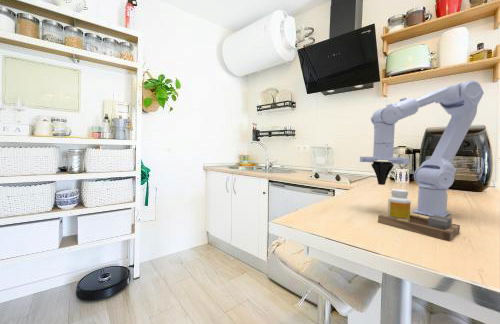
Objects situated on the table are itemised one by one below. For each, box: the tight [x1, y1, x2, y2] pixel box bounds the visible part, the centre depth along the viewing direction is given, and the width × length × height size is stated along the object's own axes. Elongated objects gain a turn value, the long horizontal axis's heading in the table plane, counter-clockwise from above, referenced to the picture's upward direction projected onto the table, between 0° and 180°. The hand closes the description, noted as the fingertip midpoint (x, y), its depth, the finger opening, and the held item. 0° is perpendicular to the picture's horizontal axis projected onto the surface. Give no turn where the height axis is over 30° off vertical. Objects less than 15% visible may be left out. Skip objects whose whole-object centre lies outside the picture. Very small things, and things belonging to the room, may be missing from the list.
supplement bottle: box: [387, 188, 411, 222], centre depth 64 cm, size 5×5×10 cm
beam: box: [377, 213, 461, 242], centre depth 60 cm, size 9×16×4 cm, turn 36°
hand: (381, 184), depth 73 cm, fingers closed
